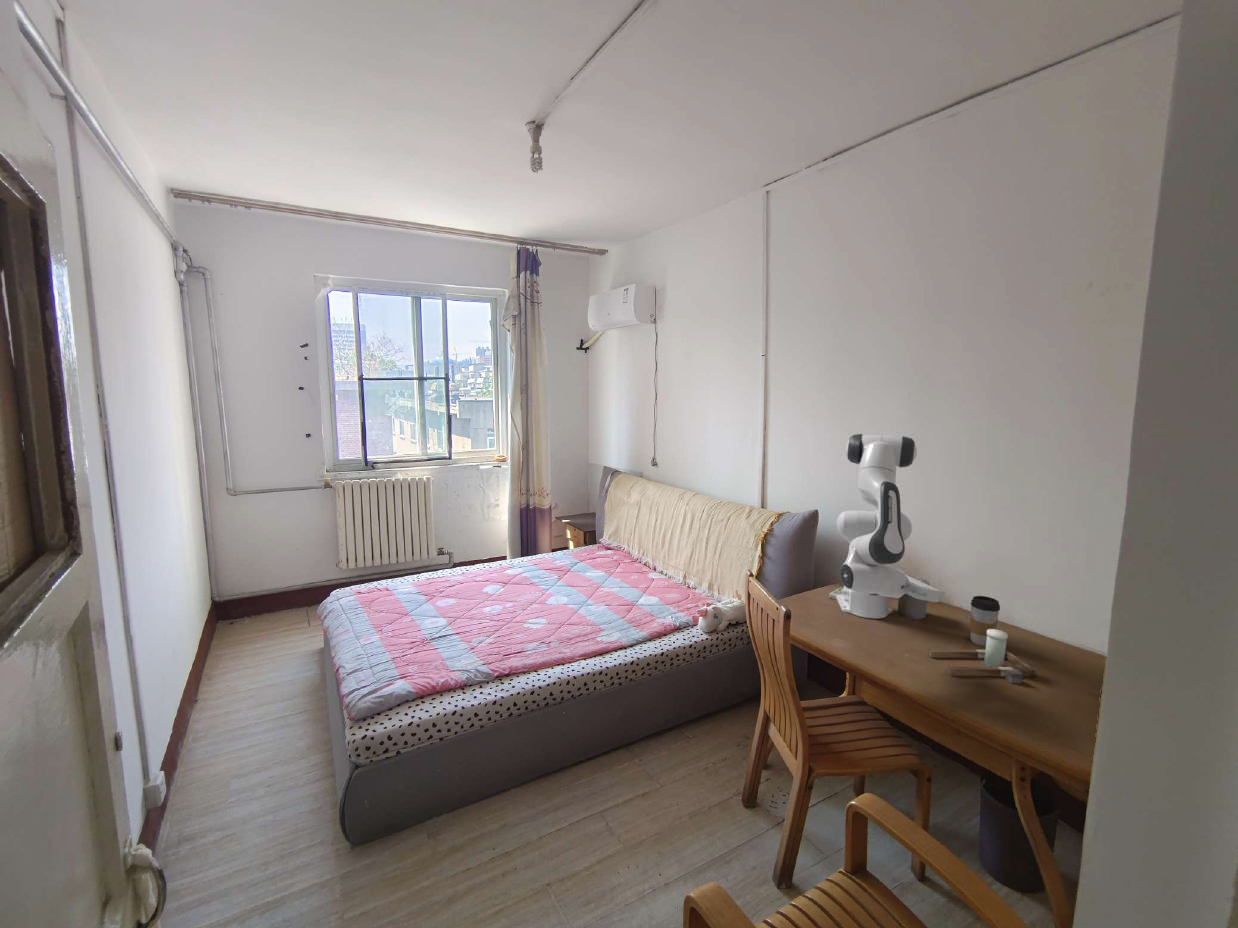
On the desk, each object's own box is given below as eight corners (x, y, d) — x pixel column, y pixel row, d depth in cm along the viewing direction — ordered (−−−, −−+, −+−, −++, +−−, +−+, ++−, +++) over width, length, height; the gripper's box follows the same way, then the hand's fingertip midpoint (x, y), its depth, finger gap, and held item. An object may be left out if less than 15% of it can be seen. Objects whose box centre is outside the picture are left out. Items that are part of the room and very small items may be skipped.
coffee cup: (966, 634, 198) (971, 593, 195) (995, 640, 193) (1000, 598, 191) (966, 644, 191) (971, 601, 188) (996, 650, 186) (1001, 606, 184)
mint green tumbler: (979, 661, 179) (982, 628, 177) (996, 661, 179) (1000, 629, 177) (990, 669, 174) (994, 636, 172) (1008, 670, 174) (1012, 636, 172)
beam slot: (927, 655, 183) (928, 646, 182) (1006, 656, 182) (1007, 647, 182) (957, 682, 166) (958, 672, 166) (1043, 683, 166) (1044, 673, 166)
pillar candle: (891, 611, 217) (894, 573, 215) (909, 606, 221) (912, 570, 219) (914, 621, 209) (917, 582, 206) (932, 616, 213) (935, 578, 210)
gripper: (917, 583, 164) (959, 589, 166) (876, 563, 184) (914, 569, 186) (912, 604, 164) (954, 610, 166) (871, 582, 184) (910, 588, 186)
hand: (933, 588), depth 176 cm, fingers open, 8 cm apart
